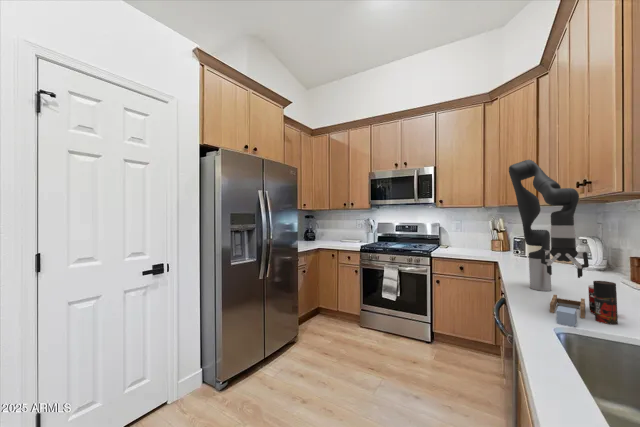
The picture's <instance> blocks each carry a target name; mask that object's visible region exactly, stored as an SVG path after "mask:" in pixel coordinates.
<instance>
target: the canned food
mask: <svg viewBox="0 0 640 427" xmlns="http://www.w3.org/2000/svg"><path fill="white" fill-rule="evenodd" d="M587 288H588V291H587V292H588V306H589V308H588V309H589V311H590V313H591V314H594V315H595V307H594V285H593V284H590V285H588V287H587ZM617 295H618V294H617V292H616V296H617Z"/></svg>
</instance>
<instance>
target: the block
mask: <svg viewBox="0 0 640 427" xmlns="http://www.w3.org/2000/svg"><path fill="white" fill-rule="evenodd" d="M577 310H578V309H575V308H569V307H563V306H557V308H556V310H555V313H556V324H557V325H563V326H566V325H568V327H571V326H574V327H573V328H576V326H577V322H578V314H577V313H578V312H577Z"/></svg>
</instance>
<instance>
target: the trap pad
mask: <svg viewBox="0 0 640 427" xmlns="http://www.w3.org/2000/svg"><path fill="white" fill-rule="evenodd" d="M559 306H563V307H569V308H575V309H577V310H580V306H577V305H570V304H564V303H557V307H559Z"/></svg>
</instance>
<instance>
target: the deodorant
mask: <svg viewBox="0 0 640 427" xmlns="http://www.w3.org/2000/svg"><path fill="white" fill-rule="evenodd" d="M592 285H594V307H595V314H594V320H595V321H596V322H598V323H601V322H602V323H601V324H605V325H613V326H614V325H616V326H617V325H618V324H619V320H618V318H619V317H618V297H617V296H616V293H617V283H616V282H612V281H607V280H593V284H592Z"/></svg>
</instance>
